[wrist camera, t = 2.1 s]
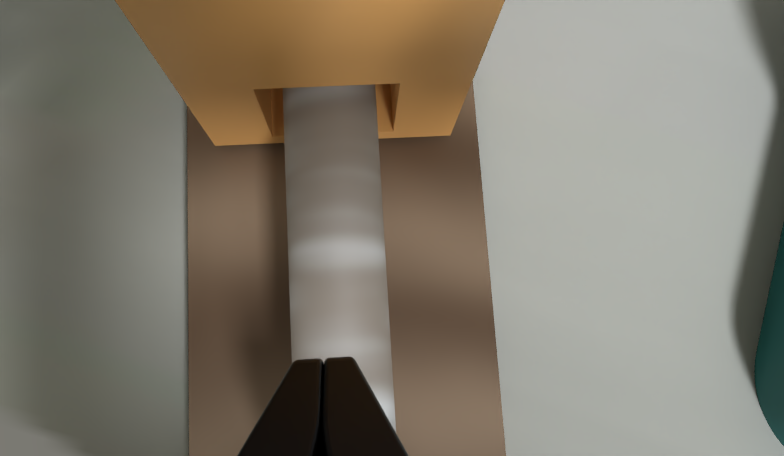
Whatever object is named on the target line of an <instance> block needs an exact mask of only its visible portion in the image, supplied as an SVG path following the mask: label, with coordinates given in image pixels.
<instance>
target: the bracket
mask: <svg viewBox="0 0 784 456" xmlns="http://www.w3.org/2000/svg"><path fill="white" fill-rule="evenodd" d="M754 372H755V385H756V391H757V396H758V400H759V403H760V406H761V409H762V412H763V414H764V416H765V418H766V420H767V422H768V425H769V426H770V428H771V429H772V431H773V433H774V434H775V436H776V437H777V438H778V440H779V441H780V442H781V444H782V445H783V446H784V223H783V228H782V232H781V237H780V242H779V247H778V251H777V256H776V261H775V266H774V270H773V275H772V280H771V285H770V289H769V294H768V299H767V304H766V308H765V313H764V318H763V323H762V327H761V332H760V337H759V342H758V346H757V351H756V358H755V371H754Z"/></svg>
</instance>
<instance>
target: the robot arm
mask: <svg viewBox="0 0 784 456" xmlns="http://www.w3.org/2000/svg"><path fill="white" fill-rule="evenodd" d="M237 456H409V455H408V453H407V452H406V450H405V448H404V446H403V444H402V443H401V441H400V439H399V437H398V435H397V434H396V432H395V430H394V428H393V427H392V425H391V423H390V421H389V419H388V418H387V416H386V414H385V412H384V410H383V409H382V407H381V405H380V403H379V401H378V400H377V398H376V396H375V394H374V392H373V391H372V389H371V387H370V385H369V383H368V382H367V380H366V378H365V376H364V375H363V373H362V371H361V369H360V367H359V366H358V364H357V362H356V360H355V359H354V358H353V357H350V356H347V357H330V358H327V359H325V361H324V362H323V361H322V359H320V358H314V359H298V360H295V361H294V362H293V363H292V364H291V366H290V367H289V369H288V371H287V372H286V374H285V376H284V377H283V379H282V381H281V382H280V384H279V386H278V387H277V389H276V391H275V393H274V394H273V396H272V398H271V399H270V401H269V403H268V404H267V406H266V408H265V409H264V411H263V413H262V414H261V416H260V418H259V420H258V421H257V423H256V425H255V426H254V428H253V430H252V431H251V433H250V435H249V436H248V438H247V440H246V441H245V443H244V445H243V447H242V448H241V450H240V452H239V453H238V455H237Z"/></svg>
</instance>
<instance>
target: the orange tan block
mask: <svg viewBox="0 0 784 456" xmlns="http://www.w3.org/2000/svg"><path fill="white" fill-rule="evenodd" d="M115 1H116V3H117V4H118V6H119V7H120V9H121V10H122V11H123V13H124V14H125V16H126V17H127V19H128V20H129V22H130V23H131V25H132V26H133V27H134V29H135V30H136V32H137V33H138V35H139V36H140V38H141V39H142V40H143V42H144V43H145V45H146V46H147V48H148V49H149V51H150V52H151V54H152V55H153V56H154V58H155V59H156V61H157V62H158V64H159V65H160V67H161V68H162V70H163V71H164V72H165V74H166V75H167V77H168V78H169V80H170V81H171V83H172V84H173V85H174V87H175V88H176V90H177V91H178V93H179V94H180V96H181V97H182V99H183V100H184V101H185V103H186V104H187V106H188V107H189V109H190V110H191V112H192V113H193V115H194V116H195V117H196V119H197V120H198V122H199V123H200V125H201V126H202V128H203V129H204V130H205V132H206V133H207V135H208V136H209V138H210V139H211V141H212V142H213V144H214V145H215V146H225V145H248V144H270V143H284V115H283V88H297V87H322V86H347V85H372V84H375V90H376V106H377V123H378V139H383V138H405V137H428V136H450V135H451V133H452V130H453V128H454V125H455V123H456V120H457V118H458V115H459V113H460V110H461V108H462V105H463V103H464V100H465V98H466V95H467V93H468V90H469V88H470V85H471V83H472V81H473V78H474V76H475V73H476V71H477V68H478V66H479V63H480V61H481V58H482V56H483V53H484V51H485V48H486V46H487V43H488V41H489V38H490V36H491V33H492V31H493V29H494V26H495V24H496V21H497V19H498V16H499V14H500V11H501V9H502V6H503V4H504V1H505V0H115Z"/></svg>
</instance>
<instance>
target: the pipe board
mask: <svg viewBox="0 0 784 456" xmlns="http://www.w3.org/2000/svg"><path fill="white" fill-rule="evenodd" d="M283 115H284V143H270V144H248V145H225V146H215V145H214V144H213V142H212V141H211V139H210V138H209V136H208V135H207V133H206V132H205V130H204V129H203V128H202V126H201V125H200V123H199V122H198V120H197V119H196V117H195V116H194V115H193V113H192V112H191V110H190V109H189V107H188V106H187V174H188V359H189V456H237V455H238V453H239V452H240V450H241V448H242V447H243V445H244V443H245V441H246V440H247V438H248V436H249V435H250V433H251V431H252V430H253V428H254V426H255V425H256V423H257V421H258V420H259V418H260V416H261V414H262V413H263V411H264V409H265V408H266V406H267V404H268V403H269V401H270V399H271V398H272V396H273V394H274V393H275V391H276V389H277V387H278V386H279V384H280V382H281V381H282V379H283V377H284V376H285V374H286V372H287V371H288V369H289V367H290V366H291V364H292V363H293V362H294V361H295V360H298V359H314V358H320V359H322V361H323V362H324V361H325V359H327V358H330V357H347V356H350V357H353V358H354V359H355V360H356V362H357V364H358V366H359V367H360V369H361V371H362V373H363V375H364V376H365V378H366V380H367V382H368V383H369V385H370V387H371V389H372V391H373V392H374V394H375V396H376V398H377V400H378V401H379V403H380V405H381V407H382V409H383V410H384V412H385V414H386V416H387V418H388V419H389V421H390V423H391V425H392V427H393V428H394V430H395V432H396V434H397V435H398V437H399V439H400V441H401V443H402V444H403V446H404V448H405V450H406V452H407V453H408V455H409V456H506V451H505V439H504V428H503V417H502V406H501V394H500V383H499V372H498V361H497V349H496V338H495V327H494V316H493V304H492V293H491V282H490V271H489V259H488V248H487V237H486V226H485V214H484V203H483V192H482V181H481V169H480V158H479V147H478V136H477V124H476V113H475V102H474V91H473V81H472V83H471V85H470V88H469V90H468V93H467V95H466V98H465V100H464V103H463V105H462V108H461V110H460V113H459V115H458V118H457V120H456V123H455V125H454V128H453V130H452V133H451V135H450V136H428V137H405V138H383V139H378V123H377V106H376V90H375V84H372V85H347V86H322V87H297V88H283Z"/></svg>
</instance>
